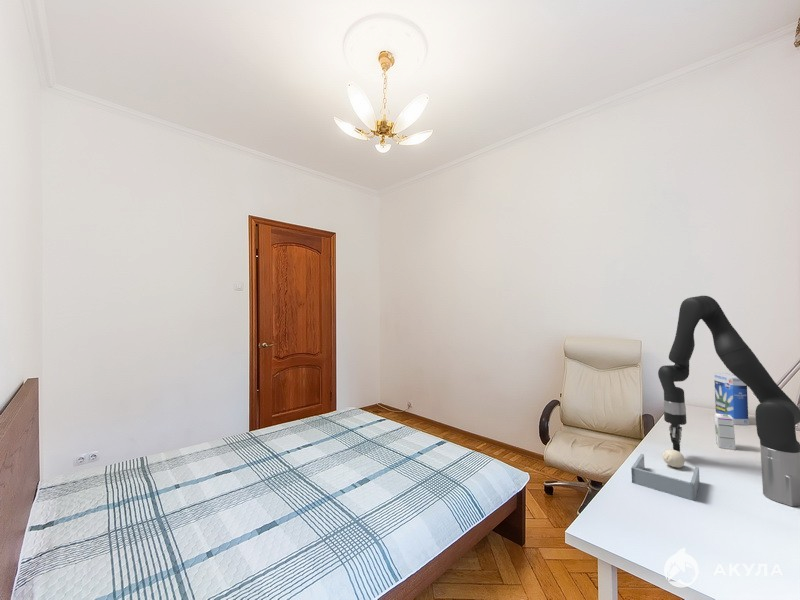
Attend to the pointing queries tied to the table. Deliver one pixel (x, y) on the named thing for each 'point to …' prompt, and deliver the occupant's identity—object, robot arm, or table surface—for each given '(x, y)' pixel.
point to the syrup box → (725, 431)
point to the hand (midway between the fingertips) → (676, 451)
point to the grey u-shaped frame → (665, 481)
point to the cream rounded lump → (673, 458)
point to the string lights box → (731, 397)
